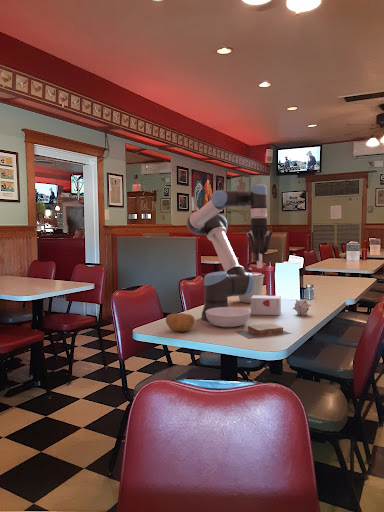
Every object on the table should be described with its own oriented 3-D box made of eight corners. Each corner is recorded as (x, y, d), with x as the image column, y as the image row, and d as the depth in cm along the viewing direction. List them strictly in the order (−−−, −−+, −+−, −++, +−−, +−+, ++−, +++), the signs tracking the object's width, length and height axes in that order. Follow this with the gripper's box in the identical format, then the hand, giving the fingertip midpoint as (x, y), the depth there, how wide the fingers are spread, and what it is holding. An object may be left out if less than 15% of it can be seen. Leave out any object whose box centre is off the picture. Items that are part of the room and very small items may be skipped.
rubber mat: (248, 339, 164) (248, 338, 164) (234, 332, 176) (234, 331, 176) (291, 334, 171) (291, 333, 171) (274, 328, 183) (274, 327, 183)
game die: (298, 322, 211) (287, 307, 210) (302, 313, 218) (290, 299, 217) (313, 315, 205) (301, 300, 205) (316, 306, 212) (304, 291, 212)
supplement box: (250, 297, 214) (279, 298, 209) (252, 295, 222) (280, 295, 218) (250, 314, 214) (279, 315, 210) (253, 311, 223) (281, 312, 218)
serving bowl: (214, 332, 177) (214, 317, 176) (200, 322, 197) (199, 308, 196) (258, 328, 182) (258, 313, 182) (240, 319, 203) (239, 305, 202)
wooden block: (258, 330, 168) (283, 327, 172) (247, 325, 176) (272, 323, 180) (258, 336, 168) (283, 333, 172) (247, 331, 176) (272, 328, 180)
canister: (252, 305, 241) (251, 269, 240) (229, 302, 254) (228, 268, 253) (270, 301, 253) (270, 267, 252) (248, 298, 266) (247, 266, 265)
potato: (173, 327, 189) (173, 310, 188) (199, 330, 181) (198, 313, 181) (160, 331, 181) (160, 314, 180) (186, 335, 173) (186, 317, 173)
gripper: (250, 217, 186) (251, 269, 187) (275, 217, 190) (275, 267, 192) (242, 218, 193) (243, 267, 194) (267, 218, 197) (267, 266, 199)
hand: (259, 267), depth 193 cm, fingers closed
